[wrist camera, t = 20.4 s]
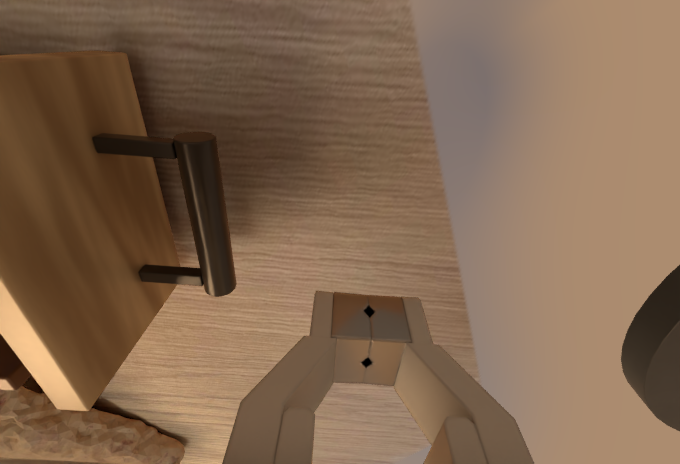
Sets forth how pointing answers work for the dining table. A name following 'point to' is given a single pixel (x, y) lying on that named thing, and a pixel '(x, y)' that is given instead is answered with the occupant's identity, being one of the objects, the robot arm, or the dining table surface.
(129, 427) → the tablet
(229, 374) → the dining table surface
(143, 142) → the drawer
